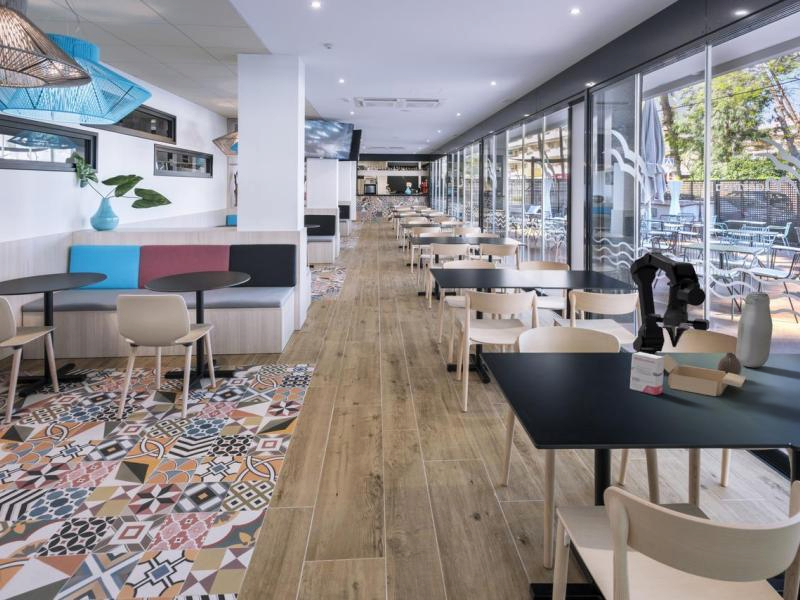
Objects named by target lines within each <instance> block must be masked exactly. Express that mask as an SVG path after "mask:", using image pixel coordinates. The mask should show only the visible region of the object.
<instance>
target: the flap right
mask: <svg viewBox="0 0 800 600" xmlns="http://www.w3.org/2000/svg"><path fill="white" fill-rule="evenodd" d="M746 379H747V376H744V375H742V374H740V375H737V374H733V373H728V374H727V375H726V377H725V378H724V380H723V381H722V383H725V384H727V385H729V386H732V387H733V386H734V387H737V388H741V387H742V385H743V384H744V382H745V380H746Z"/></svg>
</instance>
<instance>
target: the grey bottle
mask: <svg viewBox="0 0 800 600" xmlns="http://www.w3.org/2000/svg"><path fill="white" fill-rule="evenodd" d="M744 300H745V301H744V306H743V310H742V312H741V315H740V318H739V320H738V325H737V337H736V338H737V339H736V346H735V347H736V349H735V351H736V352H735V356H736V357H737V359H738V360H739V362H740V364H741V366H744V367H748V368H752V369H753V368H759V367H760V368H761V367H763V366H764V365H765V364H766V363H767V361H768V359H769V357H770V351H771V342H772V336H773V319H772V315H771V307H770V304H771V298H770V296H769V294H768V293H766V292H763V291H751V292H749V293H747V295H746V297H745V299H744Z"/></svg>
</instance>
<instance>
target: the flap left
mask: <svg viewBox="0 0 800 600" xmlns="http://www.w3.org/2000/svg"><path fill="white" fill-rule="evenodd" d="M662 357H664V371H666V372H667V373H668V374H670V373H671V372H672V371H673V370H674V369H675V368H677V367H678V366H679V363H678V362H677V361H676V360H674V359H673V358H672V357H671V356H670V355H669V354H668V353H666V354H665V355H663V356H662Z"/></svg>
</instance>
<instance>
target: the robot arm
mask: <svg viewBox="0 0 800 600" xmlns="http://www.w3.org/2000/svg"><path fill="white" fill-rule="evenodd" d="M659 270H661V271H662V272H664V273H665V274H664V275H665V277H667V279H668V280H669V281H668V282H667V283H666V286H669V288H668V290H669V291H668V303H667V308H666V310H665V313H664V314H663V316H662V315H661V314H660V313H659V314H658V313H656V309H655V308H656V307H655V301H654V300H655V299H654V292H653V291H654V290H653V283H654V281H655V279H656V276H657V272H658V271H659ZM629 273H630V275H631V279H632V281H633V282H634V284H635V285H636V286H637V293H638V301H639V302H638V303H639V311H640V319H641V320H640V321H641V325H640V327H639V329H638V331H637V337H636V338H635V339H634V341H633V343H632V348H633V349H634V350H635V351H636V353H638V352H643V353H648V354H652V355H657V356H659V354H658V352H659V353H660V352H662V351H663V348H664V345H665V342H666V341H665V335H664V329H665V330H666V331H667V333H668V334H667V335H669V339H670V342H671V343H670V344H671V346H672V348H676V347H677V346H678V343H679V342H680V339H681V337H682V336H683V334H684V333H685V332H686V331H688V330H689V329H690V327H692V328H693V329H694V330H696V331H697V330H698V331H707V330H709V329H710V320H709V319H705V318H697V317H696V318H695V319H694V320H691V319H690V320H689V312H688V306H689V305H690V306H693V307H697V306H701V305H702V304H703V303H704V302H705V300H706V297H707V296H706V293H705V291H704V290H703V289H702V288H701V284H700V282H699V280H700V279H699V277H698V275H697V272H696V269H695V267H694V265H693V264H692V262H685V261H676V260H674V259H673V258H671V257H668V256H666V255H663V253H661V252H659V251H652V252H651V251H648V252H646V253H644V255H642V256H641V257H639V258H637V259H636V260H634V261H633V263H632V264H631V265H630V268H629ZM658 323H660V324H663V325H662V326H659V324H658Z"/></svg>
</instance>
